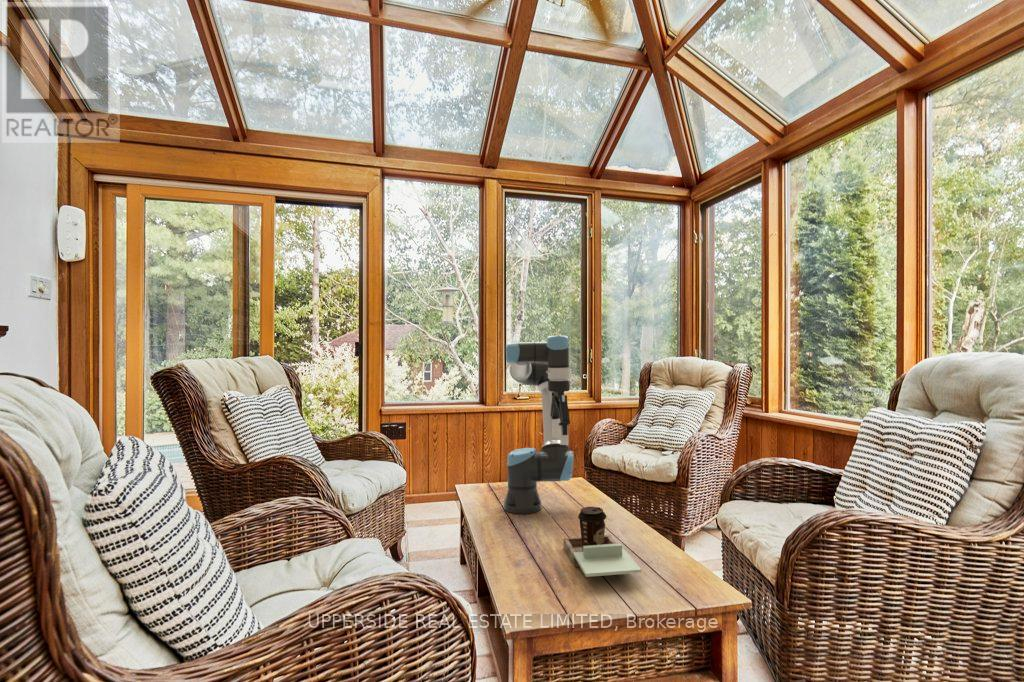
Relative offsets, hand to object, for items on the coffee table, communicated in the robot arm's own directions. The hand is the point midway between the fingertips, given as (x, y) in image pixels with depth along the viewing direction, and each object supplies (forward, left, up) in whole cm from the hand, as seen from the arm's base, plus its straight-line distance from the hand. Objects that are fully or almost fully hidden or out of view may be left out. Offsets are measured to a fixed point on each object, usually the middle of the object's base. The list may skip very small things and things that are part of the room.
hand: (560, 440), depth 174 cm
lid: (+34, +5, -28) cm, 45 cm away
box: (+21, +5, -32) cm, 38 cm away
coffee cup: (+21, +5, -31) cm, 38 cm away
